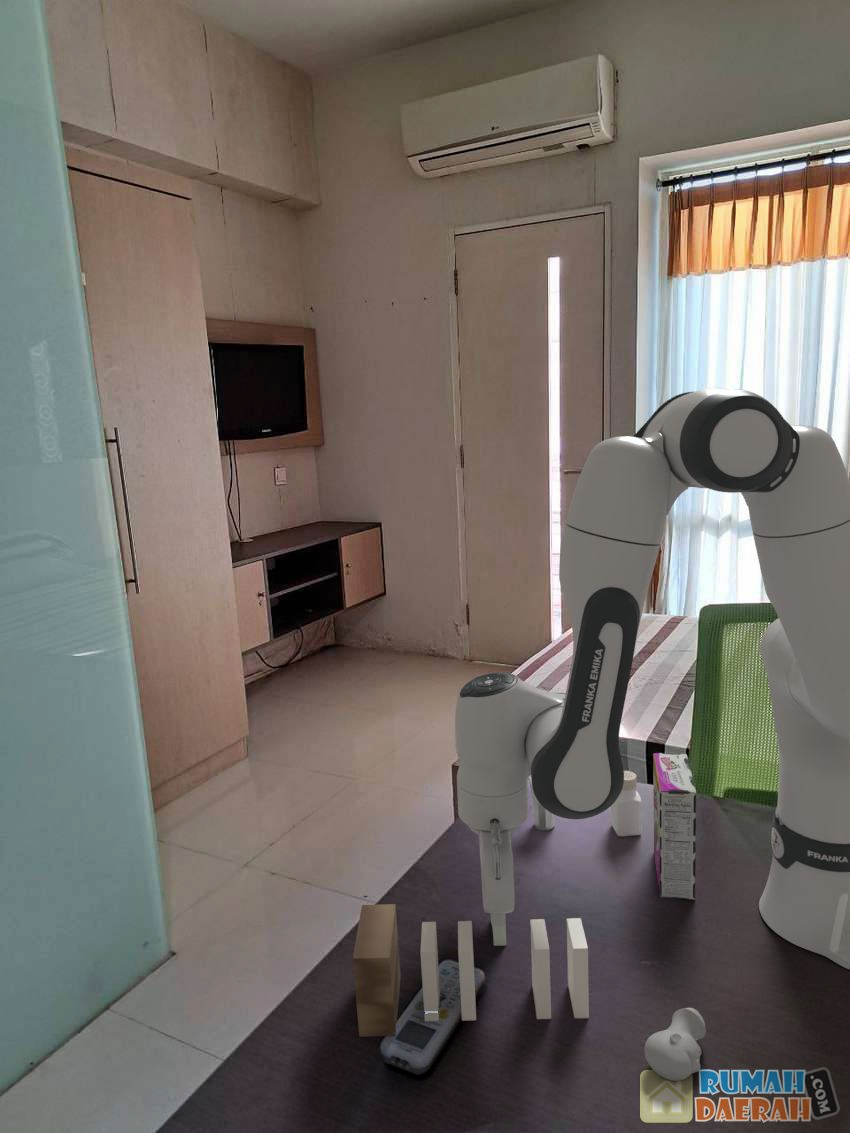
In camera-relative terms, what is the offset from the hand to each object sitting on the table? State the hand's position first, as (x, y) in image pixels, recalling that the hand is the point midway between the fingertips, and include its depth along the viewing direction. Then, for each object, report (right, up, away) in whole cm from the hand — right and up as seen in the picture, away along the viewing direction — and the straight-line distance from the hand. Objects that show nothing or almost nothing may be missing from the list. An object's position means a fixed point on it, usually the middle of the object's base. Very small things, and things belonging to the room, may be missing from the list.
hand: (496, 897), depth 101 cm
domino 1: (-8, -8, -10) cm, 15 cm away
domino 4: (+4, -7, -11) cm, 14 cm away
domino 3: (0, -5, +1) cm, 5 cm away
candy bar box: (+26, -2, +11) cm, 28 cm away
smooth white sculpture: (+17, -9, -19) cm, 28 cm away
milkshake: (+10, +1, +25) cm, 27 cm away
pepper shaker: (+23, +1, +23) cm, 32 cm away
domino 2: (-4, -8, -10) cm, 14 cm away
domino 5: (+8, -7, -11) cm, 16 cm away
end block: (-14, -8, -10) cm, 19 cm away
